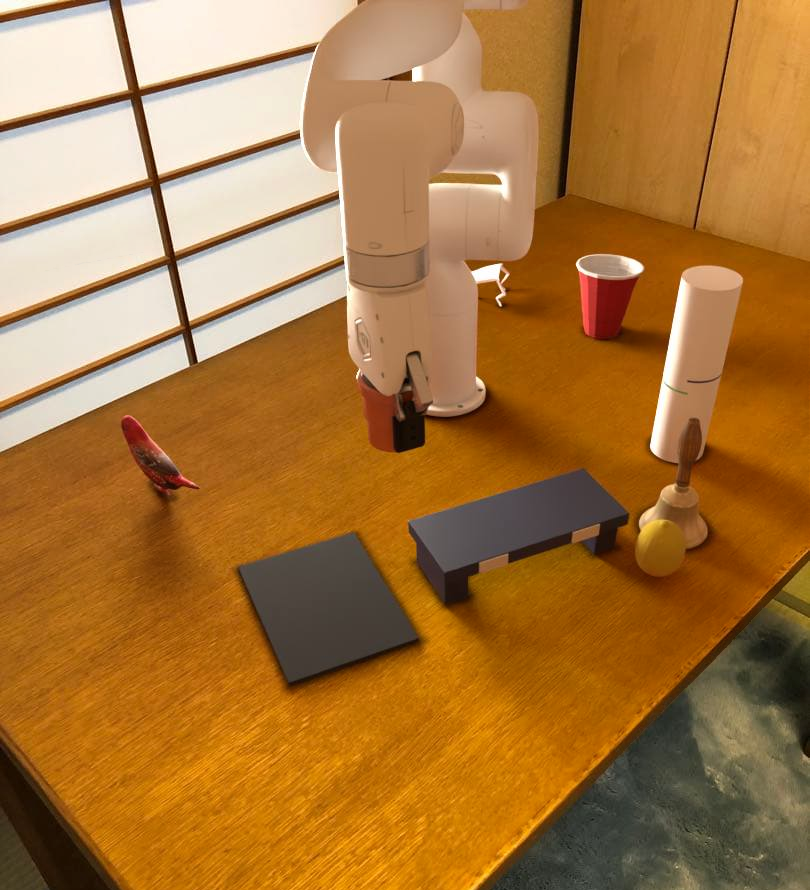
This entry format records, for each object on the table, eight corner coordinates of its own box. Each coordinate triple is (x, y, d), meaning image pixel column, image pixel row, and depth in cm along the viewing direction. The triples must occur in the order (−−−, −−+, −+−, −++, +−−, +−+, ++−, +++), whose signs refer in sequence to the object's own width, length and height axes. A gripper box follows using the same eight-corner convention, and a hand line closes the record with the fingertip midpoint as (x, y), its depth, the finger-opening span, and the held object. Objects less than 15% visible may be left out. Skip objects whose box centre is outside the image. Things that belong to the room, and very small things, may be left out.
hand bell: (668, 558, 105) (693, 448, 95) (625, 520, 111) (643, 412, 100) (721, 536, 108) (751, 427, 98) (676, 500, 114) (699, 393, 103)
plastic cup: (644, 325, 150) (654, 257, 142) (619, 351, 143) (629, 282, 136) (585, 311, 155) (592, 244, 147) (559, 336, 148) (565, 268, 140)
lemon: (669, 596, 100) (682, 544, 95) (623, 580, 103) (633, 527, 97) (685, 568, 104) (698, 516, 99) (640, 553, 106) (650, 501, 101)
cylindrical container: (704, 465, 119) (745, 292, 103) (650, 460, 120) (682, 288, 104) (701, 436, 124) (740, 267, 108) (650, 432, 126) (680, 264, 109)
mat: (238, 570, 106) (237, 566, 106) (354, 535, 110) (353, 531, 110) (289, 686, 92) (288, 683, 92) (419, 641, 96) (419, 638, 96)
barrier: (409, 558, 107) (407, 520, 103) (578, 505, 113) (583, 467, 110) (445, 612, 99) (445, 574, 96) (624, 552, 106) (631, 513, 102)
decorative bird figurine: (144, 466, 123) (127, 405, 116) (217, 521, 113) (203, 458, 107) (126, 475, 122) (108, 414, 115) (198, 532, 112) (183, 468, 105)
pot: (351, 428, 91) (345, 366, 86) (412, 412, 93) (410, 349, 88) (377, 463, 86) (373, 399, 81) (441, 445, 88) (441, 381, 83)
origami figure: (499, 315, 155) (500, 289, 151) (455, 307, 157) (455, 281, 154) (522, 288, 163) (524, 262, 159) (480, 281, 166) (481, 255, 162)
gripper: (313, 234, 82) (330, 400, 94) (387, 307, 70) (396, 486, 82) (386, 220, 85) (394, 383, 96) (470, 288, 72) (467, 465, 84)
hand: (394, 429), depth 89 cm, fingers closed on pot, 6 cm apart
